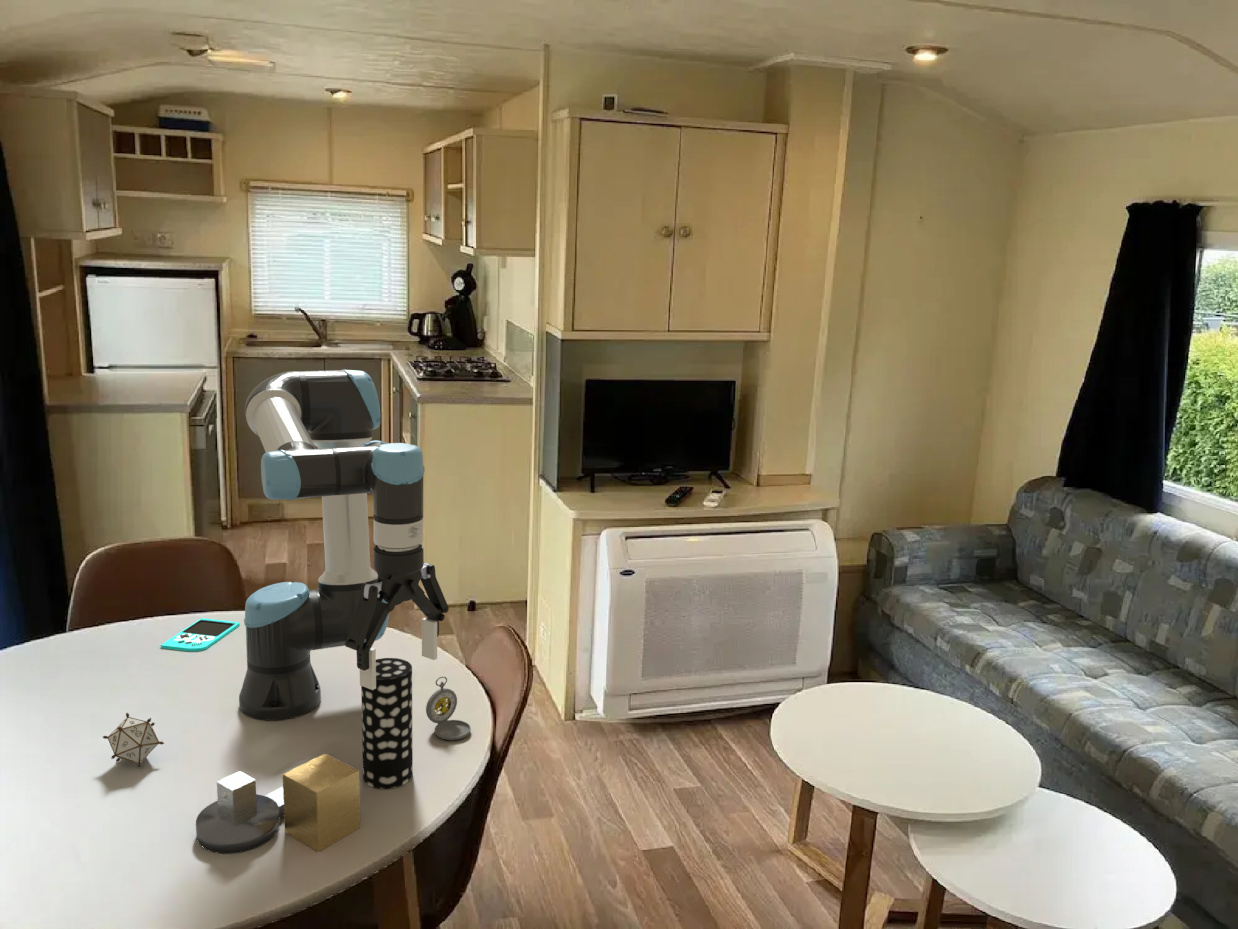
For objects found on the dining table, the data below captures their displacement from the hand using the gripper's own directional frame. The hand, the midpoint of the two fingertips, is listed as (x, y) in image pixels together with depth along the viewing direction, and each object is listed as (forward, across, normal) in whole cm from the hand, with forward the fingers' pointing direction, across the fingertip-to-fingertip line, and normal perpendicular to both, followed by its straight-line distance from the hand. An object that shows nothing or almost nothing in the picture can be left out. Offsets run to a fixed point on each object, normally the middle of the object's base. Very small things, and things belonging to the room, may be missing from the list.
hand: (399, 671), depth 158 cm
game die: (+23, -18, +45) cm, 54 cm away
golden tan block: (+23, -13, +4) cm, 27 cm away
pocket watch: (+23, +22, +10) cm, 34 cm away
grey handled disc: (+23, -14, +14) cm, 31 cm away
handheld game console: (+24, +21, +82) cm, 88 cm away
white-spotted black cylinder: (+23, +4, +7) cm, 25 cm away
